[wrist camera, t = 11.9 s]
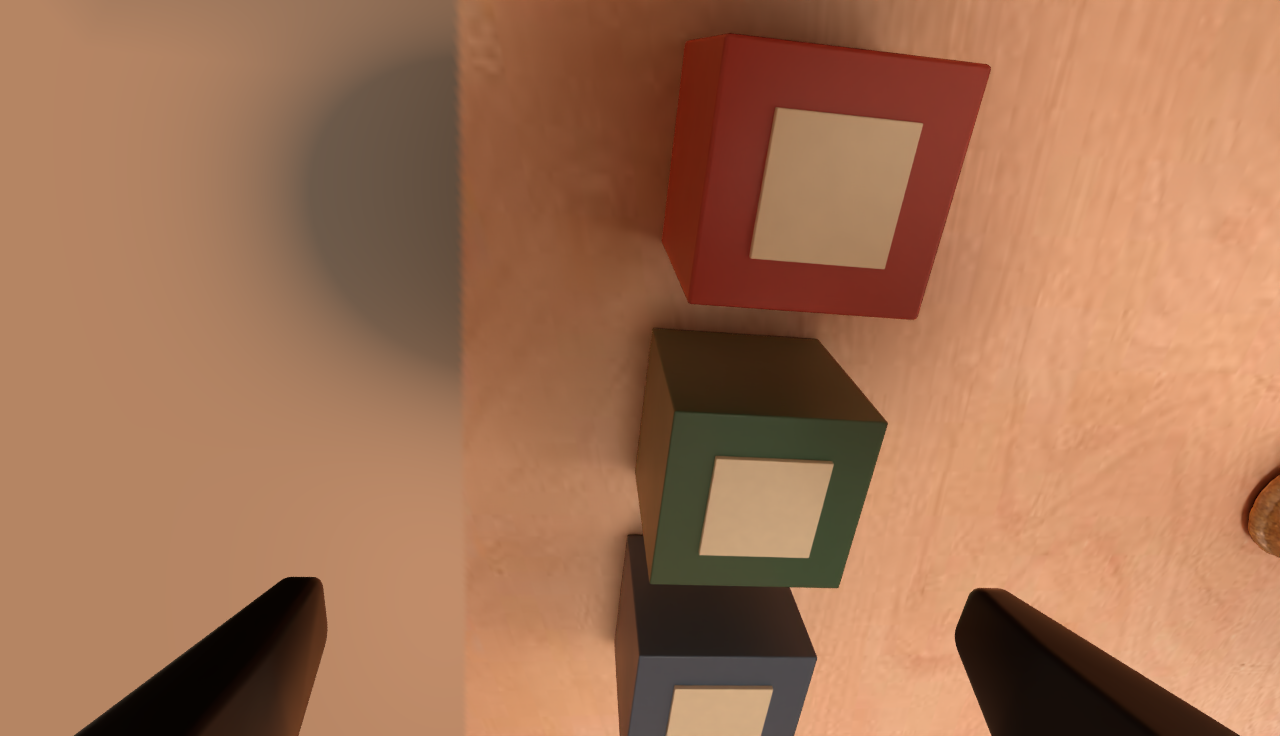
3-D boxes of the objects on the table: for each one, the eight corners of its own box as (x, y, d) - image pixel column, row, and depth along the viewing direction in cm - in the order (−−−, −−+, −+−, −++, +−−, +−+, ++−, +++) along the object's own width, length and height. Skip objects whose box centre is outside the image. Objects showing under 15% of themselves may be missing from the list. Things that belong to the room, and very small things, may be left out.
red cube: (836, 257, 19) (920, 323, 14) (661, 243, 18) (688, 307, 13) (881, 63, 16) (998, 65, 12) (685, 39, 16) (727, 31, 11)
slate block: (746, 644, 25) (784, 778, 20) (614, 642, 24) (622, 780, 20) (771, 538, 23) (819, 662, 18) (627, 534, 22) (639, 660, 18)
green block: (785, 478, 22) (841, 592, 17) (635, 472, 21) (649, 588, 16) (818, 338, 20) (891, 425, 15) (652, 327, 19) (674, 414, 14)
